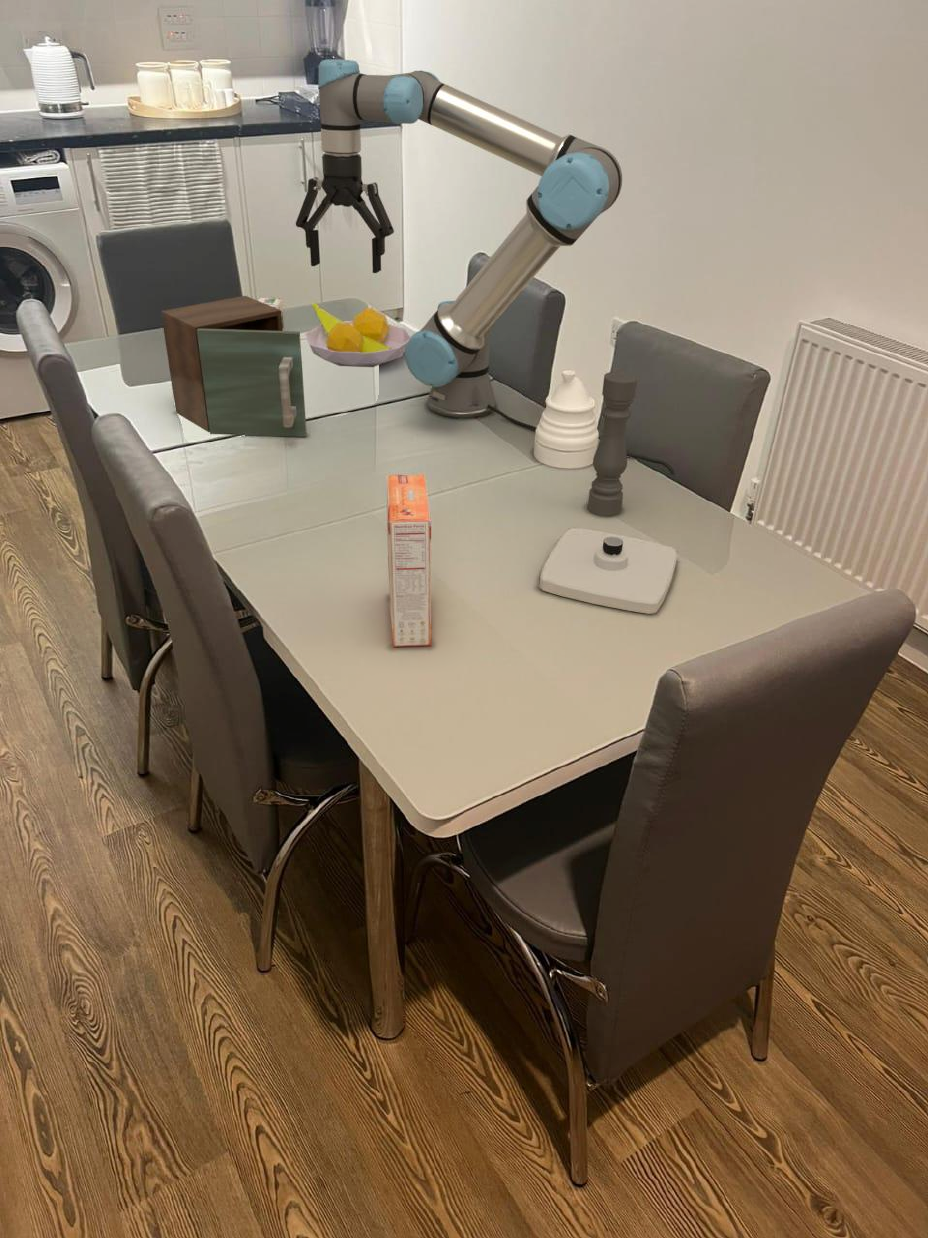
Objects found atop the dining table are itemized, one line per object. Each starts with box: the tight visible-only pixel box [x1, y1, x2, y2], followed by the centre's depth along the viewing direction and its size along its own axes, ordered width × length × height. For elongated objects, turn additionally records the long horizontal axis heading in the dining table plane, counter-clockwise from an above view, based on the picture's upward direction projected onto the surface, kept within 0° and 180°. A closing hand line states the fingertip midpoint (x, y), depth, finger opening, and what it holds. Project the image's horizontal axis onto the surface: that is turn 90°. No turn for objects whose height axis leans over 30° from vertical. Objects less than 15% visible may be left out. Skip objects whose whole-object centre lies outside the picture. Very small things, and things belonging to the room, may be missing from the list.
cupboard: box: [160, 295, 283, 433], centre depth 200 cm, size 14×20×22 cm
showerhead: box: [539, 527, 678, 615], centre depth 151 cm, size 20×6×20 cm
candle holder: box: [587, 370, 638, 518], centre depth 165 cm, size 6×6×25 cm
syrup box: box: [257, 297, 286, 331], centre depth 232 cm, size 6×6×14 cm
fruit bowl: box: [304, 302, 412, 368], centre depth 235 cm, size 28×27×11 cm
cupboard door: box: [197, 328, 308, 438], centre depth 187 cm, size 8×20×22 cm, turn 90°
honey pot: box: [533, 369, 600, 470], centre depth 187 cm, size 13×13×18 cm
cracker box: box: [386, 474, 432, 648], centre depth 134 cm, size 14×6×21 cm, turn 5°
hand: (346, 268), depth 191 cm, fingers open, 13 cm apart
